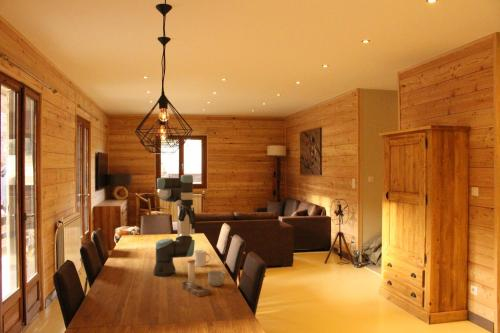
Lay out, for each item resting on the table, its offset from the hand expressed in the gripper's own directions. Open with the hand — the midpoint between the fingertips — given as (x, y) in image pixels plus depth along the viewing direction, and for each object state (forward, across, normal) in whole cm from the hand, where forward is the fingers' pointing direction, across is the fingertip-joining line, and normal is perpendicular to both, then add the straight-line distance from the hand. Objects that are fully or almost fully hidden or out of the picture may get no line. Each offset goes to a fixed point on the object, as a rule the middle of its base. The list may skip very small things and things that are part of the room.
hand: (187, 232), depth 268 cm
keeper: (+30, +15, -5) cm, 34 cm away
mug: (+32, -35, +31) cm, 57 cm away
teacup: (+32, +18, +11) cm, 38 cm away
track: (+31, +20, -5) cm, 38 cm away
